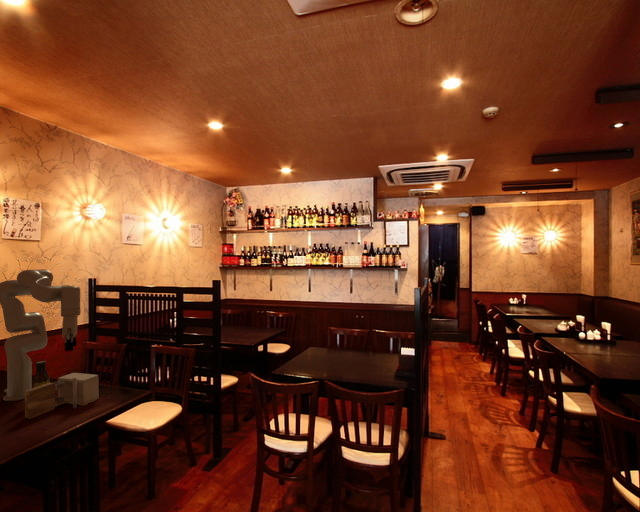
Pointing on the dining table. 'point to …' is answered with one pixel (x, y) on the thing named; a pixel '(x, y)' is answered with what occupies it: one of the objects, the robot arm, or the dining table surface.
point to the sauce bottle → (41, 374)
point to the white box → (79, 388)
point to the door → (42, 399)
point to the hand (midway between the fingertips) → (70, 348)
